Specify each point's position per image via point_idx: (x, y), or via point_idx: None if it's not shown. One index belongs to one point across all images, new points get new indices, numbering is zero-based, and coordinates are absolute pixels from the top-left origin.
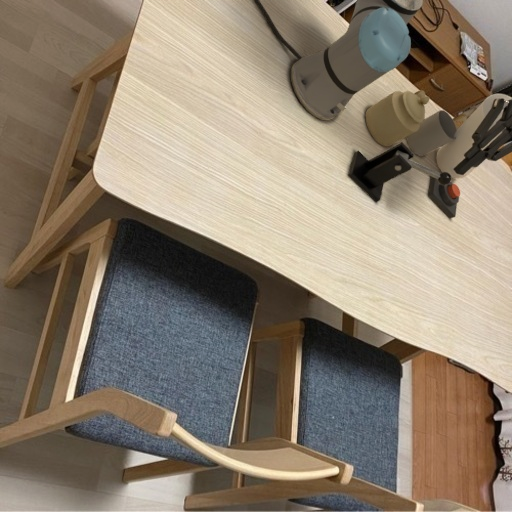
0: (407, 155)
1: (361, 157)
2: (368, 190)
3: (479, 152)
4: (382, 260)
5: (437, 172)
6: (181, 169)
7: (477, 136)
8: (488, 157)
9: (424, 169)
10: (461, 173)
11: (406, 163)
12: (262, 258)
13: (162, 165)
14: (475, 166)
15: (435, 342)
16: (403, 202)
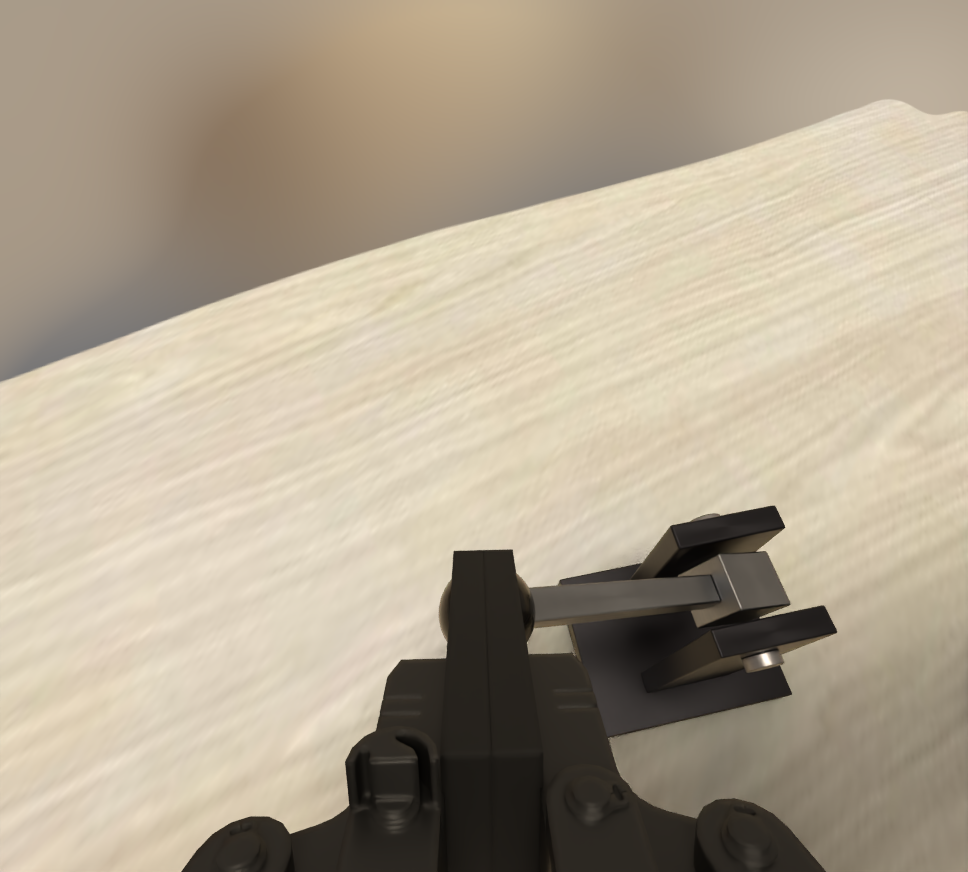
0: (742, 598)
1: (756, 675)
2: (625, 568)
3: (526, 717)
4: (423, 408)
5: (554, 612)
6: (944, 161)
7: (773, 819)
8: (345, 823)
9: (621, 583)
10: (472, 555)
11: (716, 522)
12: (707, 162)
13: (962, 144)
14: (409, 663)
15: (109, 358)
16: None
